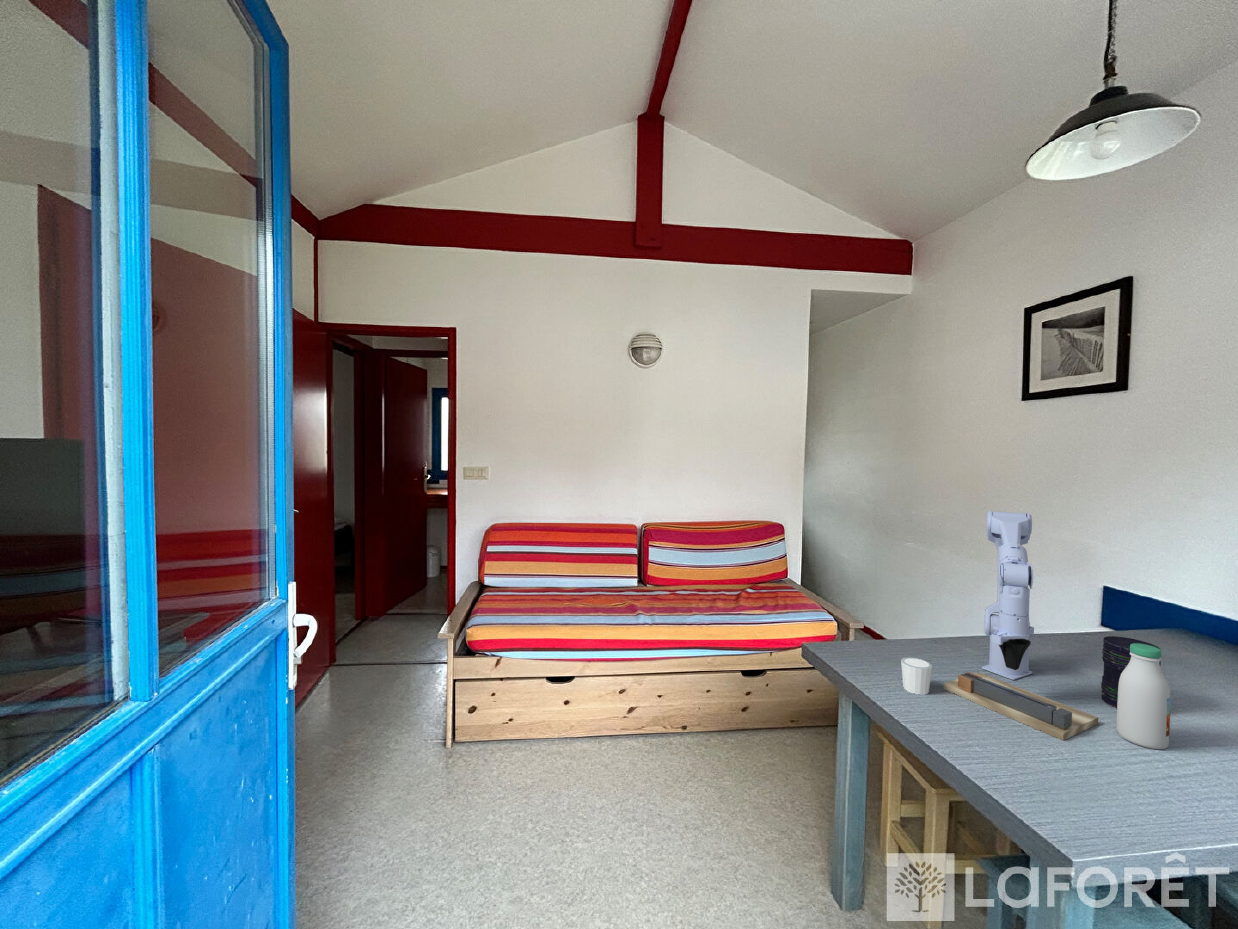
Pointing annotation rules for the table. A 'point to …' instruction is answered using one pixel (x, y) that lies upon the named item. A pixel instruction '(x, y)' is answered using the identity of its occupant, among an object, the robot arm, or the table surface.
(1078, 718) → the board
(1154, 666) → the milk bottle
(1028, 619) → the robot arm
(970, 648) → the table surface
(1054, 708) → the arm
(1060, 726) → the tongs fixed arm
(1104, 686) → the storage jar
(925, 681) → the white cup
